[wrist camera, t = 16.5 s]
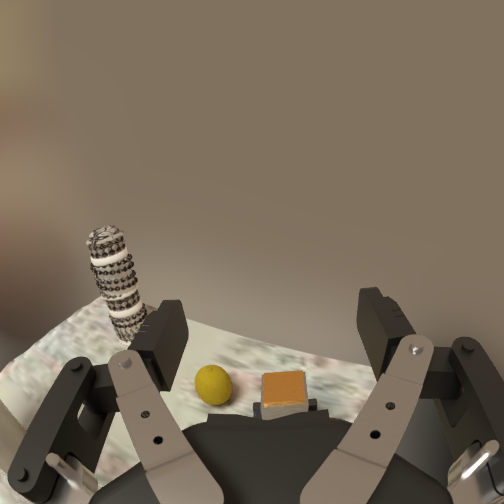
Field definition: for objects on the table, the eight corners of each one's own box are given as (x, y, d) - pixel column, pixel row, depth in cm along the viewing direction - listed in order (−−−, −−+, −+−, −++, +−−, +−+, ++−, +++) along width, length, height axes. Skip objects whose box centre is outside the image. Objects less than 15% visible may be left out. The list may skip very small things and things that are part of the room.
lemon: (242, 398, 42) (235, 365, 39) (218, 420, 38) (207, 387, 35) (218, 384, 45) (209, 350, 42) (194, 403, 42) (181, 370, 39)
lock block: (305, 453, 31) (308, 401, 26) (267, 455, 32) (260, 404, 27) (303, 425, 36) (305, 368, 31) (268, 427, 36) (261, 371, 31)
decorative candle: (120, 352, 54) (79, 242, 45) (115, 330, 62) (82, 231, 52) (158, 339, 58) (126, 228, 49) (149, 319, 66) (122, 219, 56)
